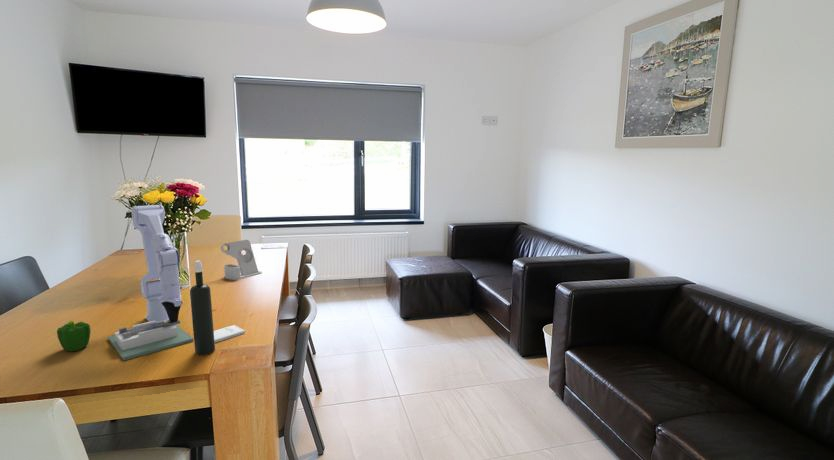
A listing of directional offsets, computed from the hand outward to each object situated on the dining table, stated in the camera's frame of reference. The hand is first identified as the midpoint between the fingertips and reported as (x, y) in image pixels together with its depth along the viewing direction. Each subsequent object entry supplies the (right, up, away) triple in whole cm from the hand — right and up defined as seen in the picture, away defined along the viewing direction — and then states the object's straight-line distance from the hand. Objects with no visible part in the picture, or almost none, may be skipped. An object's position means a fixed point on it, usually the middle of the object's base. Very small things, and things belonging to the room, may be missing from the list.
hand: (173, 321), depth 149 cm
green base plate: (-5, -6, -4) cm, 9 cm away
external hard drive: (+17, -6, 0) cm, 18 cm away
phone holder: (-7, +8, +76) cm, 77 cm away
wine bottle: (+17, -7, -12) cm, 23 cm away
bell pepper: (-26, -7, -11) cm, 29 cm away
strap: (-5, -1, -5) cm, 7 cm away
